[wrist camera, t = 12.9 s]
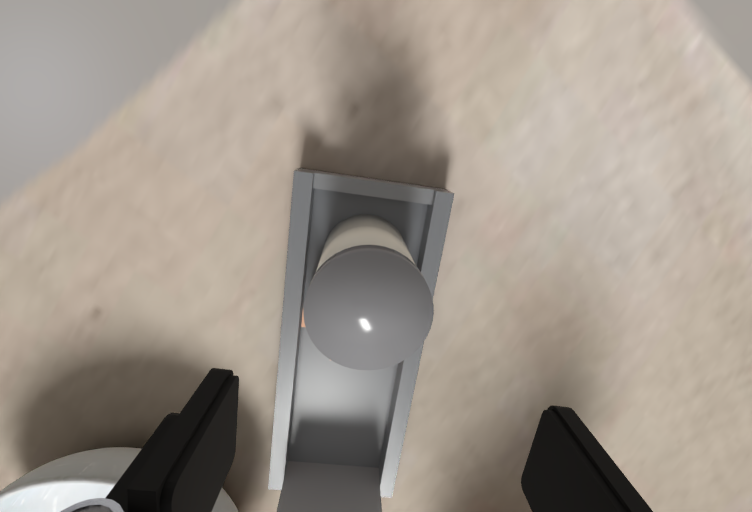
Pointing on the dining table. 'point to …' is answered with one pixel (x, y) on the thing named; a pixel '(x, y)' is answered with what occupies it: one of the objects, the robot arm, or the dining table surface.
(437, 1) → the dining table surface
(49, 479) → the serving bowl
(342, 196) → the lane
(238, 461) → the dining table surface
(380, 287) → the jar
